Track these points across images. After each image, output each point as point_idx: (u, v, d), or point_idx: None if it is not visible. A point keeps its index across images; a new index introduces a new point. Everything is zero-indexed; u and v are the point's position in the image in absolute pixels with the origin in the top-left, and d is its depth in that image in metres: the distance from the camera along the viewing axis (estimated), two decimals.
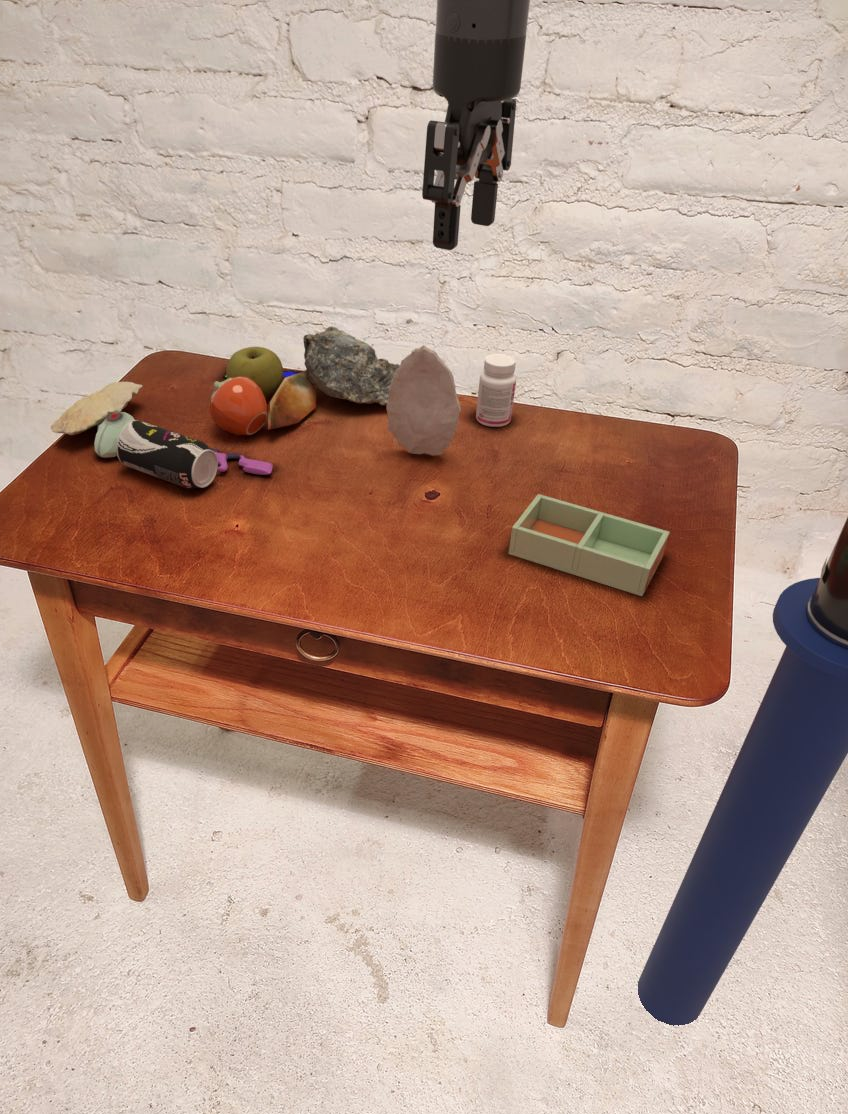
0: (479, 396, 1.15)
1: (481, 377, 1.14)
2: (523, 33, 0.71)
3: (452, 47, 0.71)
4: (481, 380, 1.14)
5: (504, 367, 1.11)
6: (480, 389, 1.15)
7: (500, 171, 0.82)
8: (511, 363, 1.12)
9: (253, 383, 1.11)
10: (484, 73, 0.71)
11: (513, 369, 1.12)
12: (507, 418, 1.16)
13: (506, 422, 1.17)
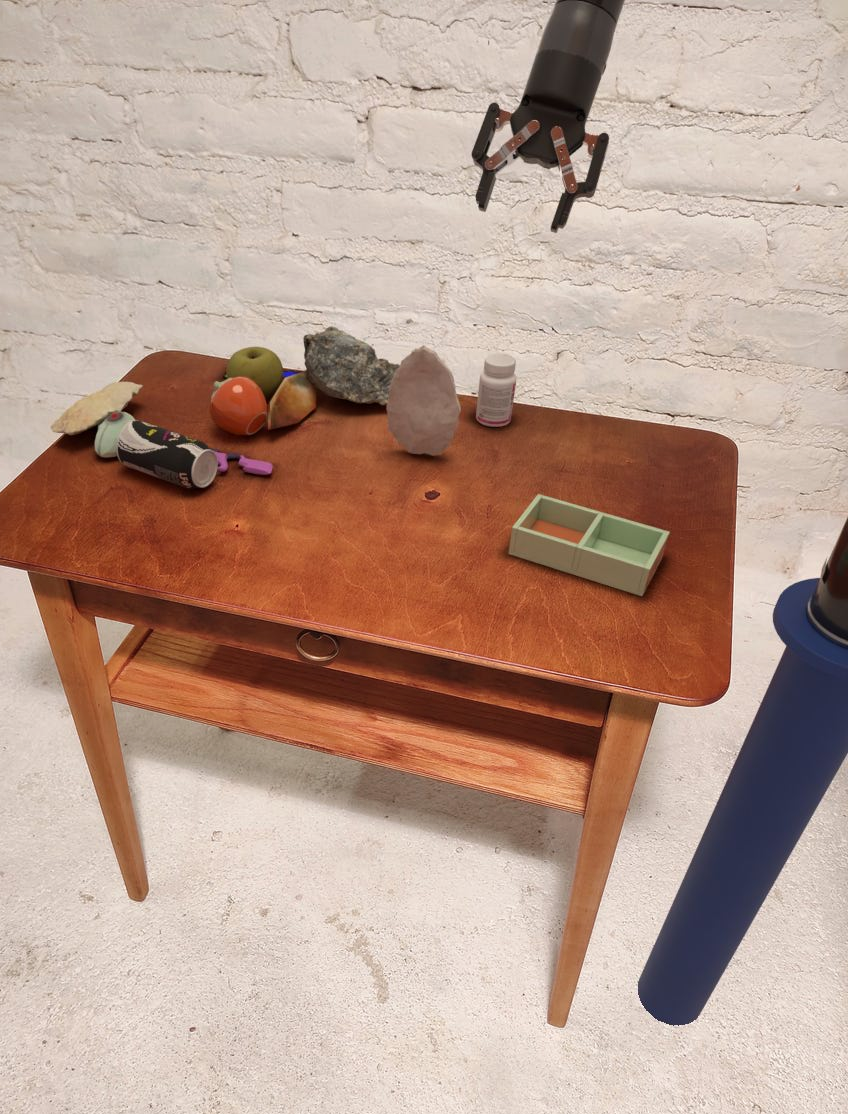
0: (479, 396, 1.15)
1: (481, 377, 1.14)
2: (569, 49, 0.91)
3: None
4: (481, 380, 1.14)
5: (504, 367, 1.11)
6: (480, 389, 1.15)
7: (571, 183, 0.96)
8: (511, 363, 1.12)
9: (253, 383, 1.11)
10: (532, 75, 0.94)
11: (513, 369, 1.12)
12: (507, 418, 1.16)
13: (506, 422, 1.17)
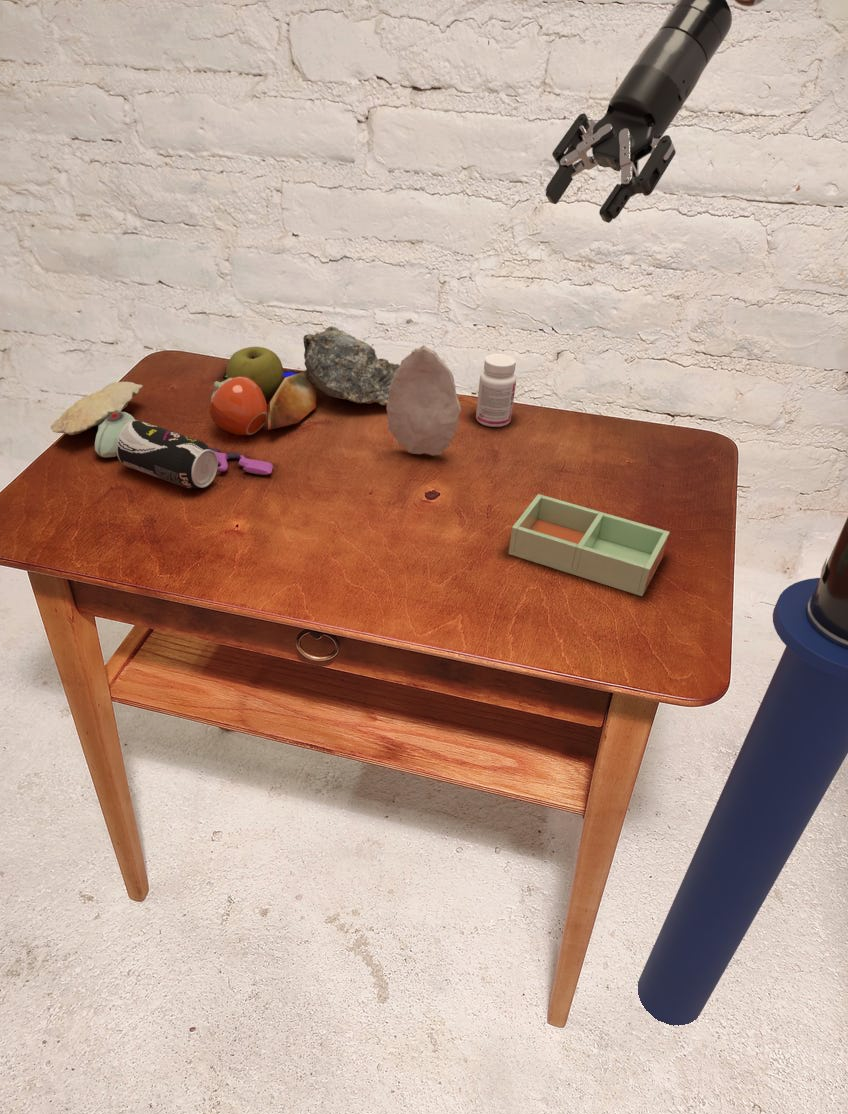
0: (479, 396, 1.15)
1: (481, 377, 1.14)
2: (648, 63, 1.01)
3: None
4: (481, 380, 1.14)
5: (504, 367, 1.11)
6: (480, 389, 1.15)
7: (626, 176, 1.02)
8: (511, 363, 1.12)
9: (253, 383, 1.11)
10: None
11: (513, 369, 1.12)
12: (507, 418, 1.16)
13: (506, 422, 1.17)
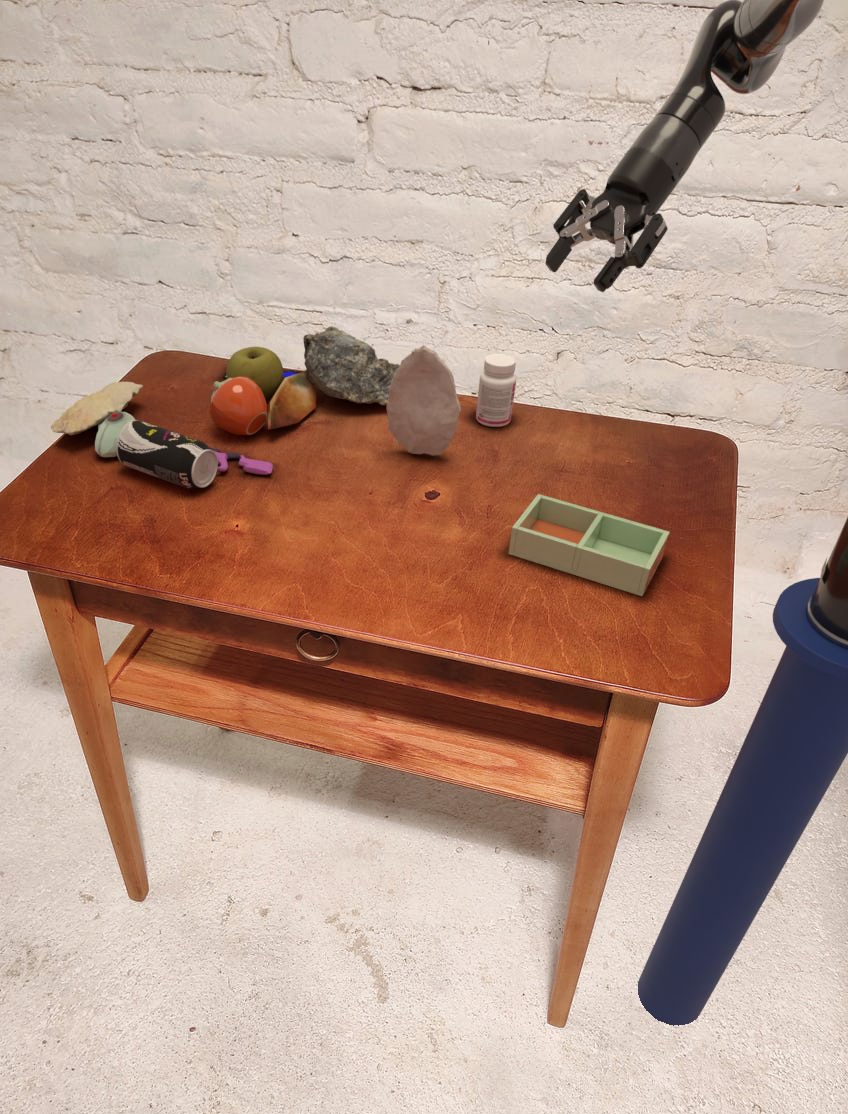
0: (479, 396, 1.15)
1: (481, 377, 1.14)
2: (643, 146, 1.07)
3: None
4: (481, 380, 1.14)
5: (504, 366, 1.11)
6: (480, 389, 1.15)
7: (620, 249, 1.08)
8: (511, 363, 1.12)
9: (253, 383, 1.11)
10: None
11: (513, 369, 1.12)
12: (507, 418, 1.16)
13: (506, 422, 1.17)
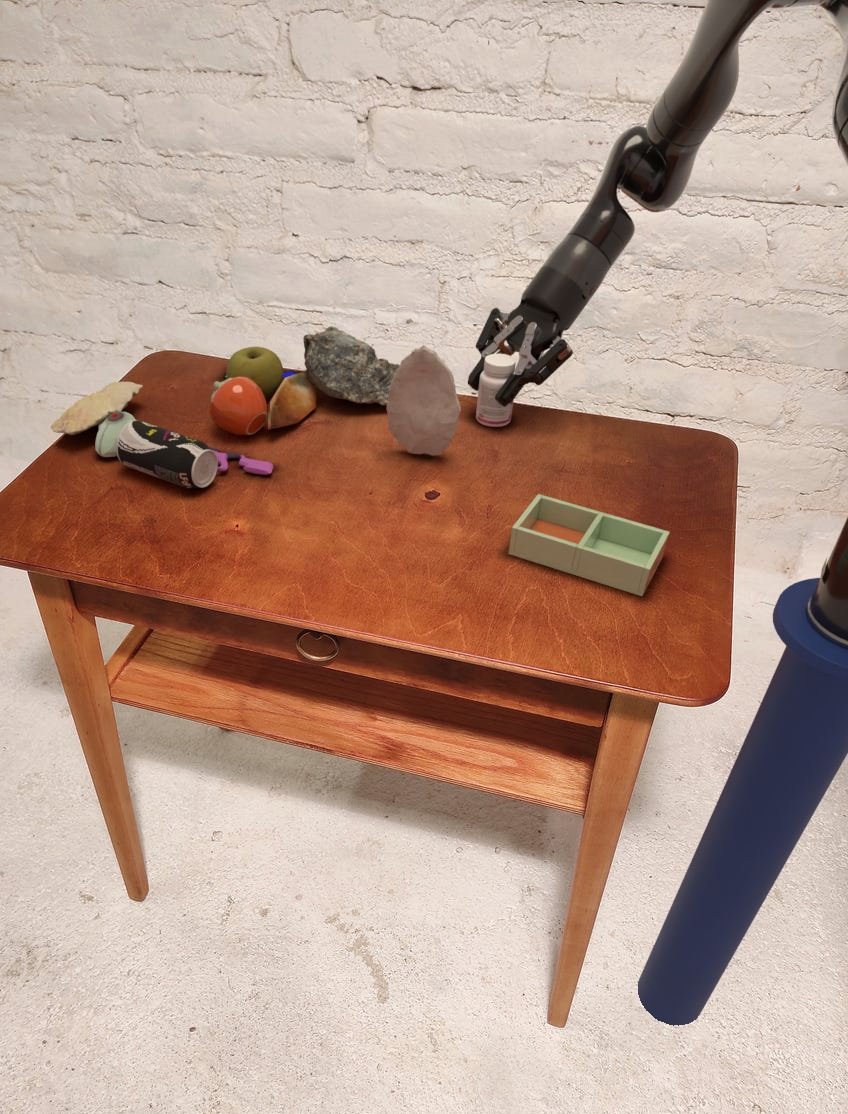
0: (479, 396, 1.15)
1: (481, 377, 1.14)
2: (554, 266, 1.09)
3: None
4: (481, 380, 1.14)
5: (504, 367, 1.11)
6: (480, 389, 1.15)
7: (520, 368, 1.11)
8: (511, 362, 1.12)
9: (253, 383, 1.11)
10: None
11: (513, 369, 1.12)
12: (507, 418, 1.16)
13: (506, 422, 1.17)
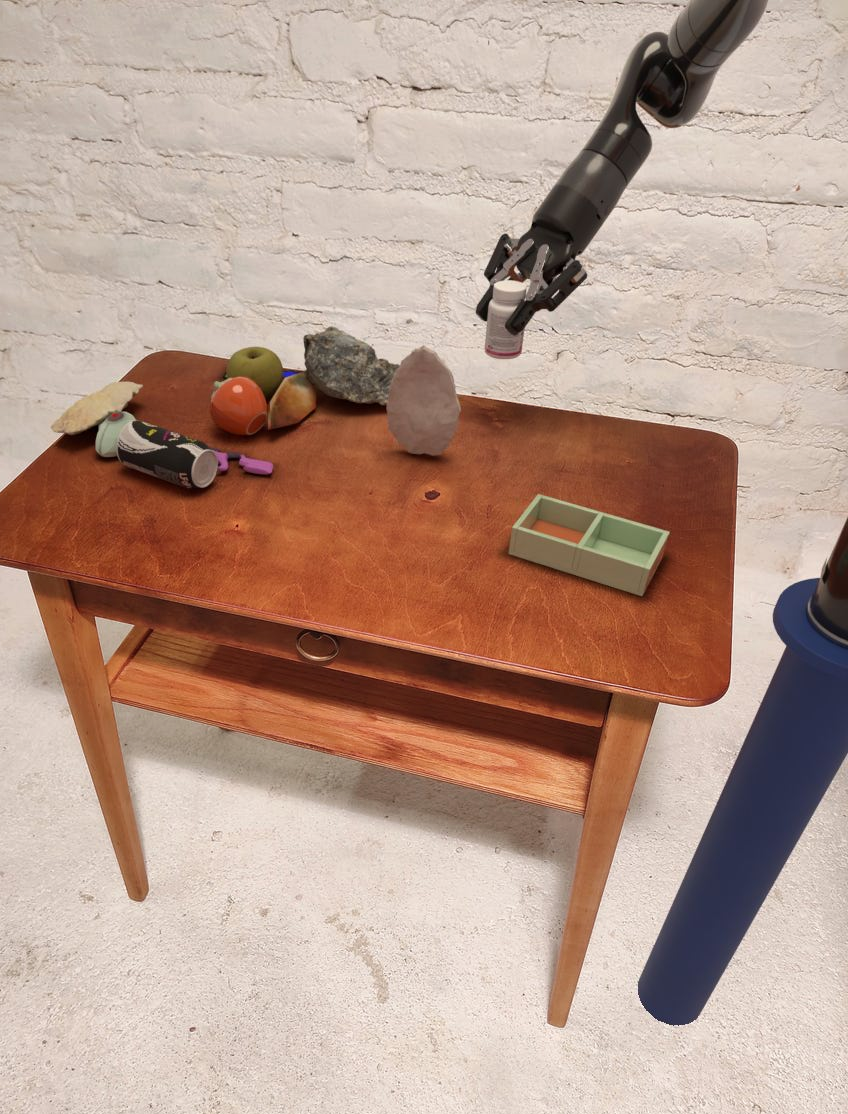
0: (488, 326, 1.09)
1: (490, 305, 1.08)
2: (567, 184, 1.03)
3: None
4: (490, 308, 1.08)
5: (514, 292, 1.05)
6: (489, 318, 1.08)
7: (531, 293, 1.05)
8: (521, 288, 1.06)
9: (253, 383, 1.11)
10: None
11: (524, 295, 1.06)
12: (518, 350, 1.10)
13: (516, 354, 1.10)
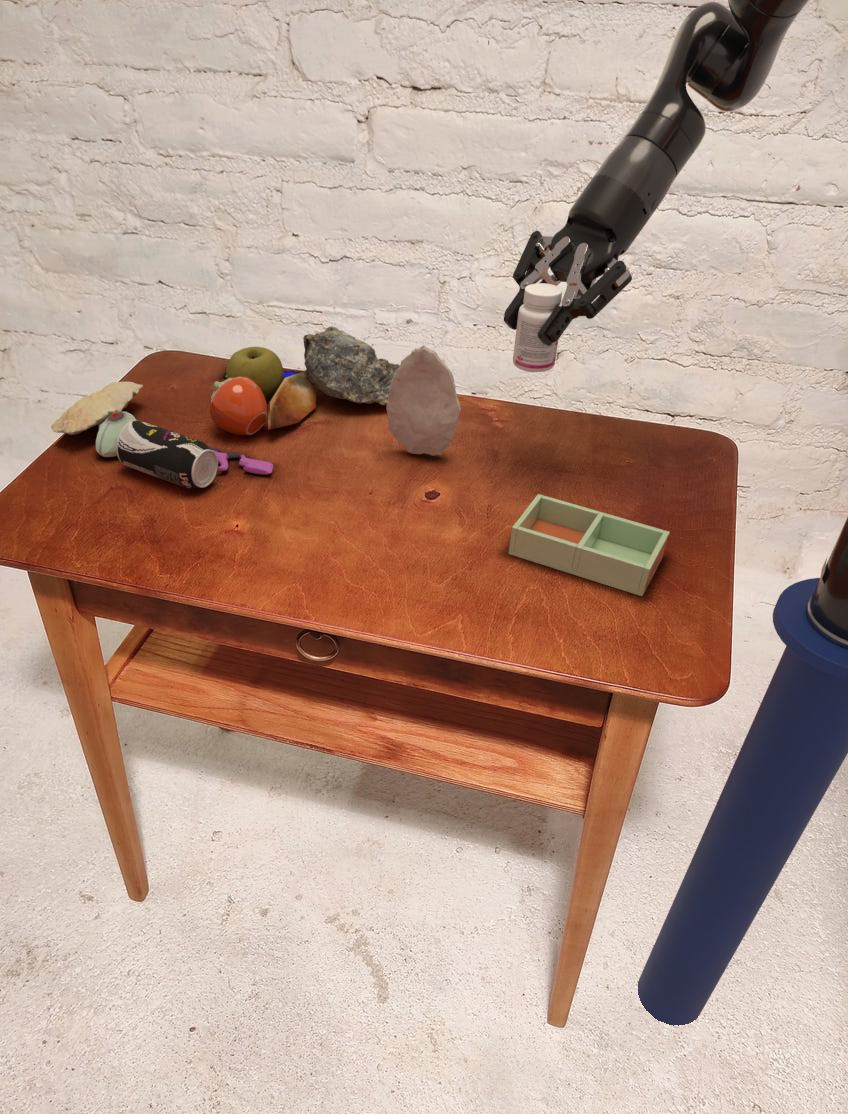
0: (517, 335, 0.97)
1: (520, 311, 0.95)
2: (609, 174, 0.91)
3: None
4: (520, 315, 0.95)
5: (549, 296, 0.93)
6: (519, 326, 0.96)
7: (568, 297, 0.93)
8: (556, 292, 0.93)
9: (253, 383, 1.11)
10: None
11: (559, 300, 0.94)
12: (551, 361, 0.98)
13: (549, 366, 0.98)
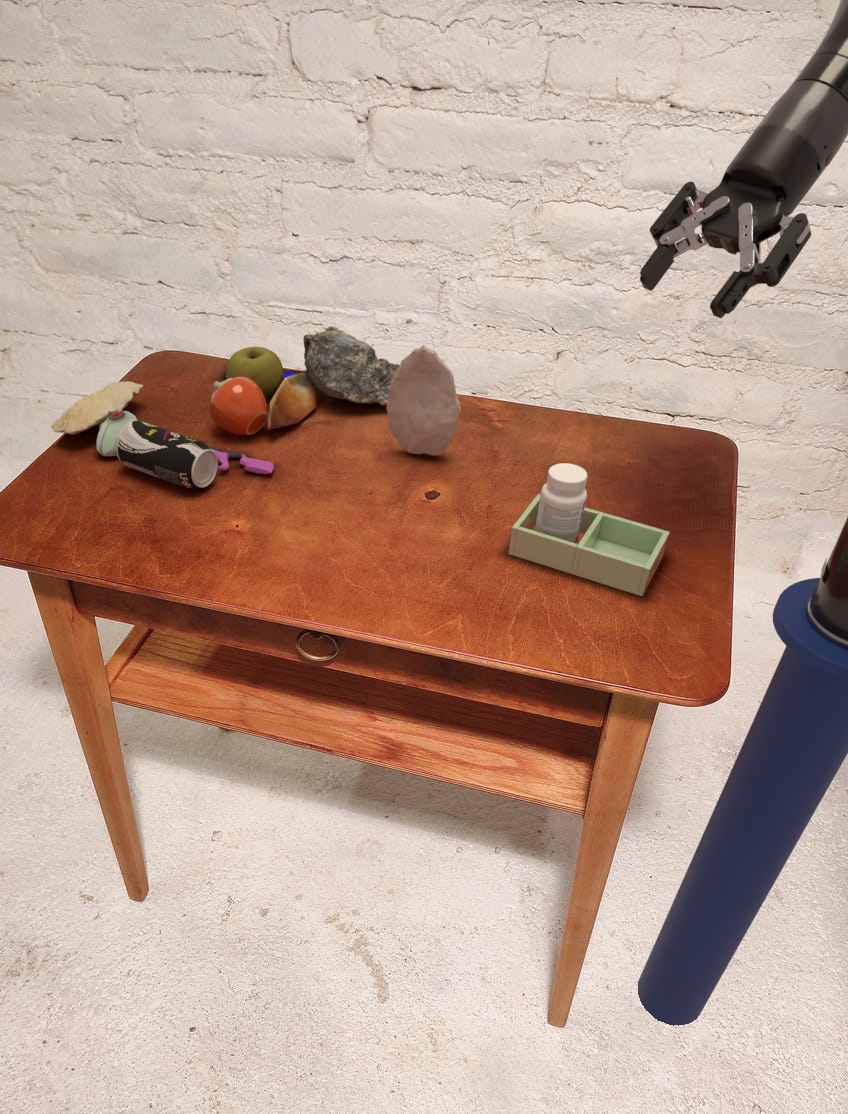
0: (540, 514, 0.93)
1: (543, 493, 0.92)
2: (780, 123, 0.80)
3: None
4: (543, 497, 0.92)
5: (574, 483, 0.89)
6: (541, 507, 0.92)
7: (747, 262, 0.81)
8: (581, 477, 0.90)
9: (253, 383, 1.11)
10: None
11: (584, 485, 0.90)
12: (574, 541, 0.94)
13: None
